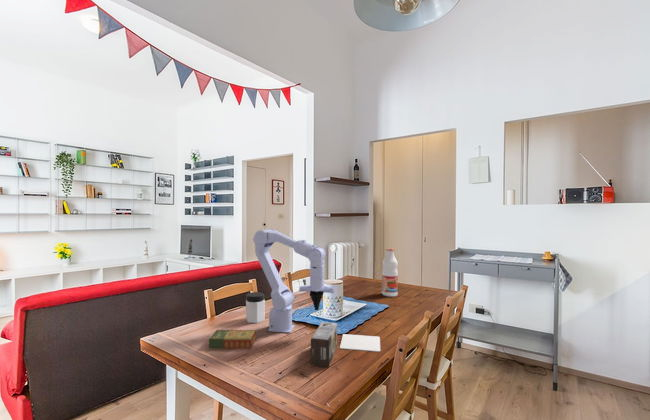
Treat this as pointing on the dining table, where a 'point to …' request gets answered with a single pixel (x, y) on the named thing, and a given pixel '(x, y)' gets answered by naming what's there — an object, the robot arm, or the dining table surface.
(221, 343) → the carton
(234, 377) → the dining table surface
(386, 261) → the fruit juice
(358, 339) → the mat
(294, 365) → the dining table surface
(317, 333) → the coffee box
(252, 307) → the jar
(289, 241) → the robot arm
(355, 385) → the dining table surface
